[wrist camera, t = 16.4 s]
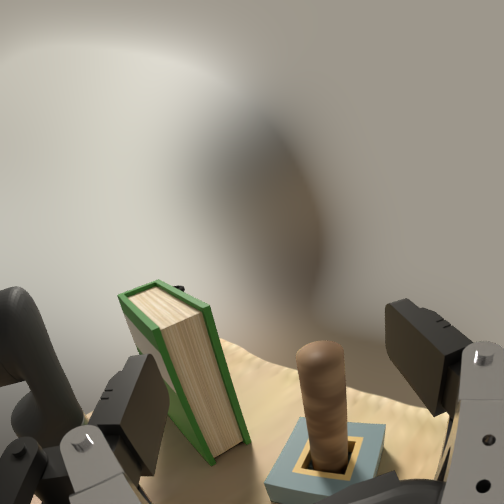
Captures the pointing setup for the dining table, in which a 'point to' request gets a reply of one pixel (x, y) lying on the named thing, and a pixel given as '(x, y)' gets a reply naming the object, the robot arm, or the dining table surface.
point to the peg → (325, 404)
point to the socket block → (316, 482)
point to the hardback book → (187, 365)
